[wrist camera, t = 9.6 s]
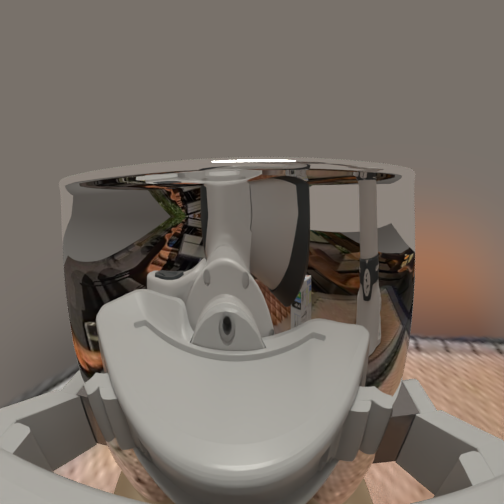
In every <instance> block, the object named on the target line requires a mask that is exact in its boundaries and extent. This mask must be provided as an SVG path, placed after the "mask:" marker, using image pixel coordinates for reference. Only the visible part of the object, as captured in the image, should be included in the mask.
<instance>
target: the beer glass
mask: <svg viewBox="0 0 504 504" xmlns="http://www.w3.org/2000/svg"><path fill="white" fill-rule="evenodd" d="M414 181H415V172H414V171H413V170H412V169H410V168H407V167H402V166H397V165H391V164H384V163H376V162H366V161H356V160H342V159H326V158H301V157H236V158H210V159H192V160H179V161H167V162H155V163H145V164H137V165H128V166H121V167H114V168H108V169H101V170H95V171H89V172H84V173H79V174H75V175H72V176H68V177H65V178H63V179H61V180H60V182H59V188H60V194H61V217H62V218H61V220H62V243H63V263H64V278H65V289H66V298H67V306H68V313H69V320H70V326H71V332H72V338H73V344H74V349H75V353H76V357H77V361H78V365H79V369H80V373H81V376H82V380H83V383H84V387H85V390H86V393H87V397H88V400H89V403H90V406H91V409H92V412H93V414H94V416H95V419H96V421H97V423H98V426H99V428H100V430H101V433H102V435H103V437H104V439H105V441H106V443H107V445H108V448H109V450H110V452H111V454H112V456H113V458H114V459H115V461H116V463H117V464H118V466H119V467H120V469H121V470H122V472H123V473H124V475H125V476H126V477H127V479H128V480H129V482H130V483H131V484H132V486H133V487H134V489H135V490H136V491H137V493H138V494H139V495H140V497H141V498H142V499H143V500H144V501H145V502H146V503H151V504H346V503H347V502H348V500H349V499H350V498H351V496H352V495H353V494H354V492H355V491H356V489H357V488H358V486H359V485H360V483H361V481H362V480H363V478H364V476H365V475H366V473H367V471H368V470H369V468H370V466H371V464H372V463H373V461H374V459H375V457H376V456H377V454H378V452H379V450H380V447H381V445H382V442H383V439H384V437H385V434H386V431H387V429H388V426H389V423H390V420H391V417H392V414H393V411H394V408H395V405H396V402H397V399H398V396H399V391H400V387H401V382H402V377H403V373H404V368H405V363H406V357H407V352H408V346H409V340H410V331H411V322H412V311H413V298H414V282H415V212H414V211H415V209H414Z"/></svg>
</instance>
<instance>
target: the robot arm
mask: <svg viewBox="0 0 504 504" xmlns="http://www.w3.org/2000/svg"><path fill="white" fill-rule="evenodd" d="M96 443H98V444H102V445H106V446H108V445H107V443H106V441H105V439H104V437H103V435H102V433H101V430H100V428H99V426H98V423H97V421H96V419H95V416H94V414H93V412H92V409H91V406H90V403H89V400H88V397H87V393H86V390H85V387H84V383H83V380H82V376H81V373H80V370H79V371H78V372H77V373H76V375H75V376H74V377H73V378H72V379H71V380H70V381H69V382H68V383H67V384H66V385H65V387H64V388H63V389H62V390H61V391H60V390H54V391H52V392H49V393H46V394H43V395H40V396H37V397H34V398H31V399H28V400H25V401H22V402H19V403H16V404H13V405H10V406H7V407H4V408H1V409H0V504H151V503H146V502H142V501H138V500H134V499H130V498H126V497H123V496H119V495H115V494H112V493H109V492H105V491H102V490H99V489H96V488H93V487H90V486H87V485H84V484H81V483H78V482H76V481H73V480H70V479H68V478H65V477H63V476H60V475H58V474H55V473H54V472H53V471H54V470H56V469H58V468H59V467H61V466H63V465H64V464H66V463H68V462H69V461H71V460H73V459H74V458H76V457H77V456H79V455H81V454H82V453H84V452H85V451H87V450H89V449H90V448H92V447H93V446H95V445H97V444H96ZM390 461H396V463H397V464H398V465H400V466H401V467H402V468H403V469H404V470H405V471H407V472H408V473H409V474H410V475H411V476H413V477H414V478H415V479H416V480H417V481H418V482H420V483H421V484H422V485H423V486H424V487H426V488H427V489H428V490H429V491H430V492H432V493H433V494H434V495H435V496H434V497H433V498H431V499H427V500H424V501H419V502H415V503H411V504H504V441H503V440H502V439H499V438H497V437H495V436H493V435H491V434H489V433H487V432H485V431H483V430H481V429H478V428H476V427H474V426H472V425H470V424H468V423H466V422H464V421H462V420H460V419H458V418H456V417H454V416H452V415H450V414H448V413H446V412H444V411H442V410H440V411H437V410H436V408H435V407H434V405H433V403H432V402H431V400H430V399H429V397H428V395H427V394H426V392H425V391H424V389H423V388H422V386H421V385H420V383H419V381H418V380H416V379H409V380H402V382H401V387H400V391H399V396H398V399H397V402H396V405H395V408H394V411H393V414H392V417H391V420H390V423H389V426H388V429H387V431H386V434H385V437H384V439H383V442H382V445H381V447H380V450H379V452H378V454H377V456H376V457H375V459H374V461H373V463H382V462H390ZM373 463H372V464H373Z"/></svg>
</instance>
